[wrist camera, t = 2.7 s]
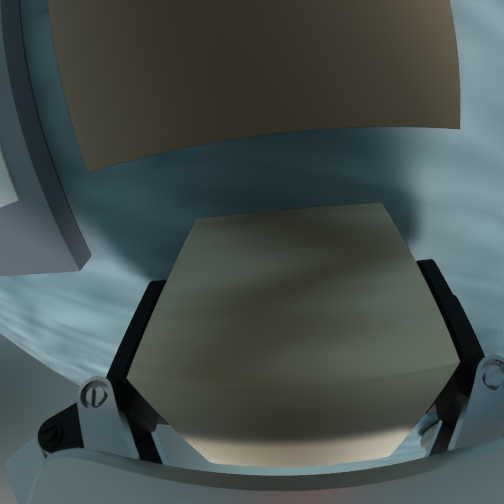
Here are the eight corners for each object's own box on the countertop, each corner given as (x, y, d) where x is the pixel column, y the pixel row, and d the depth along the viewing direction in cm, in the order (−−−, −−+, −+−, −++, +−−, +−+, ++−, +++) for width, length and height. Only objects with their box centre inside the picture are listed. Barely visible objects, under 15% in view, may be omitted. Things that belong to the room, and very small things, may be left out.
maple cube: (381, 201, 9) (459, 362, 4) (367, 326, 12) (388, 456, 7) (196, 217, 10) (126, 378, 5) (232, 335, 13) (211, 462, 8)
